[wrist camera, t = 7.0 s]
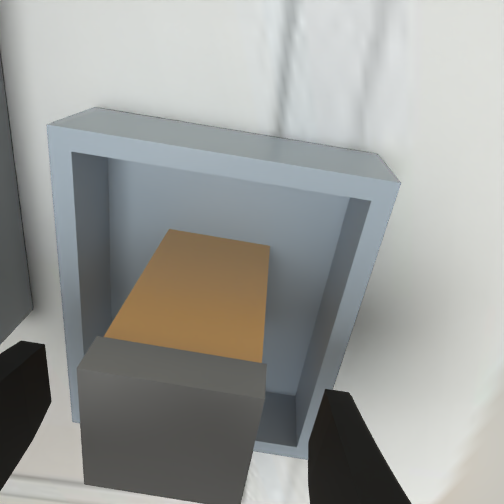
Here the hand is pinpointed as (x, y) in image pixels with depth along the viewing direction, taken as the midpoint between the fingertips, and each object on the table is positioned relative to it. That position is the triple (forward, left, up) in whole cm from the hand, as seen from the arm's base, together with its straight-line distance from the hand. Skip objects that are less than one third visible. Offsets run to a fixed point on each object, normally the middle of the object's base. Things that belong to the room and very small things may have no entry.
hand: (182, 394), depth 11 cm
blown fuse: (0, 0, -5) cm, 5 cm away
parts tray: (0, 0, -6) cm, 6 cm away
